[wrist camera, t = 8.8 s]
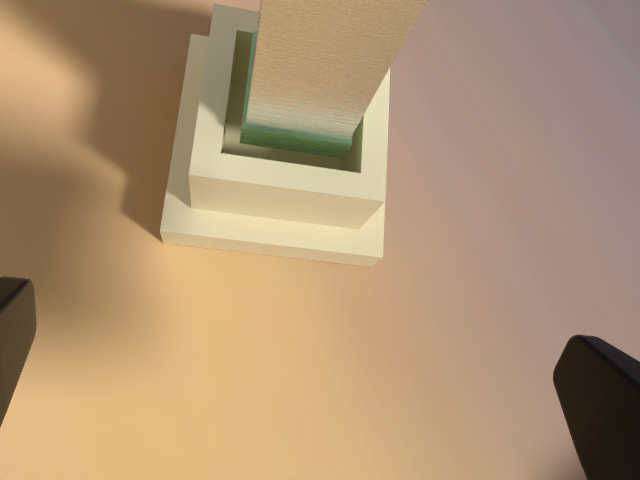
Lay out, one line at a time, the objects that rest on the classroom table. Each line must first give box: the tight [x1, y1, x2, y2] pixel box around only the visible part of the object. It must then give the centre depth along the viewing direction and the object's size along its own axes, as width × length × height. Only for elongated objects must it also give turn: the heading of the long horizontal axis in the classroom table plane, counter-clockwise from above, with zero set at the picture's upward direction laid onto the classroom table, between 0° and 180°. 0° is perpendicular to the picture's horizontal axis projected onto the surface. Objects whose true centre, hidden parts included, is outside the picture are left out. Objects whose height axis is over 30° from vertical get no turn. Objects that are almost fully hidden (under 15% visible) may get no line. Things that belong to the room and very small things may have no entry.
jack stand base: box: [160, 4, 390, 267], centre depth 19 cm, size 8×8×4 cm
